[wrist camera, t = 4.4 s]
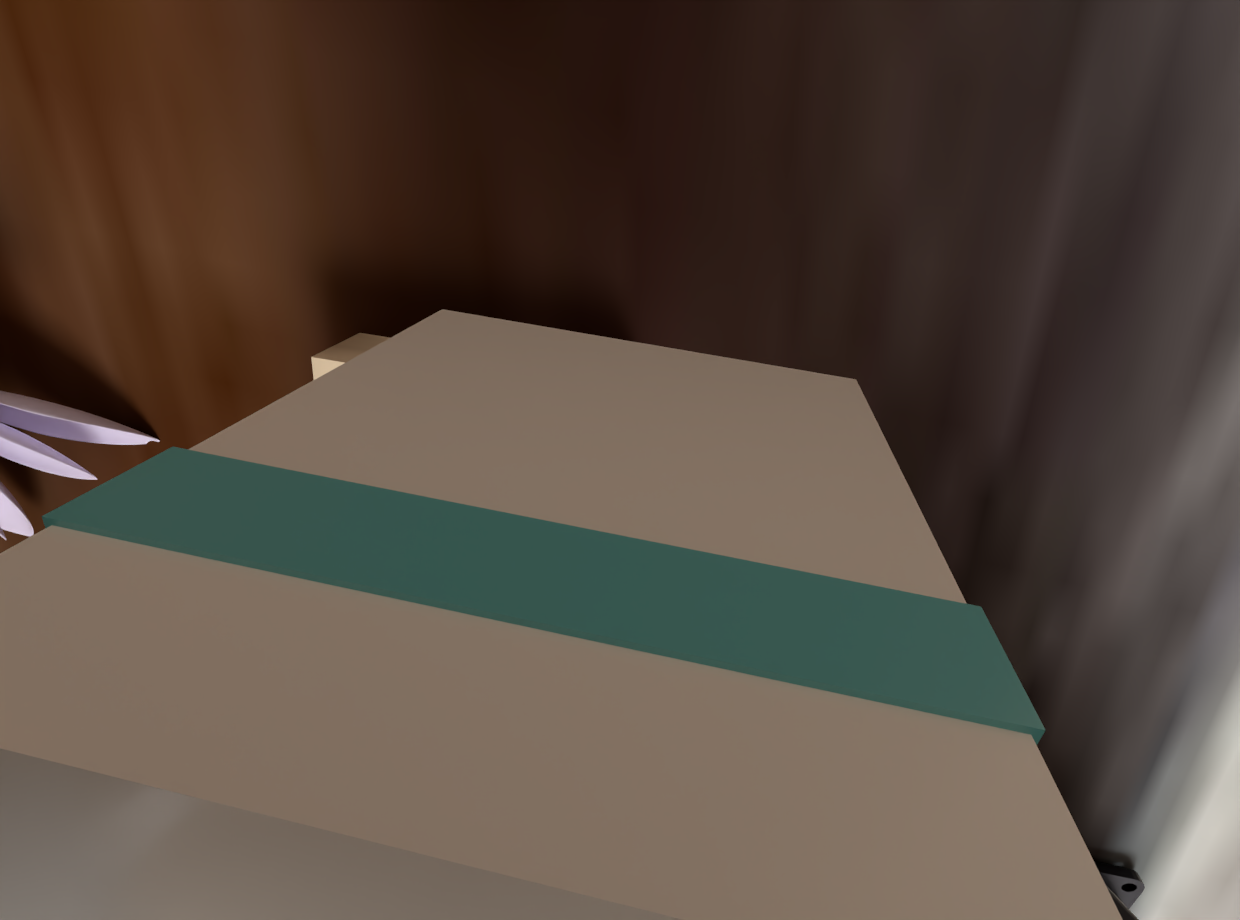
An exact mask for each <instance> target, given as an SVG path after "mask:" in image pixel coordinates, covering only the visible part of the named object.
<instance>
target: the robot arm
mask: <svg viewBox="0 0 1240 920" xmlns="http://www.w3.org/2000/svg"><path fill="white" fill-rule="evenodd" d="M1094 863H1095V865H1096V867H1097V869H1098V871H1099V873H1100V875H1101V877H1102V879H1103V881H1104V883H1105V885H1106V887H1107V889H1108V891H1109V893H1110V895H1111V897H1112V899H1113V901H1114V903H1115V905H1116V907H1117V909H1118V911H1119V913H1120V915H1121V917H1122V919H1123V920H1138V919H1137V917H1136V916H1135V915H1134V914H1133V913H1132V912H1131V911H1130V910H1129V908H1130V907H1131V906H1132V904H1133V903H1134V902H1135V901H1136V899H1137V898H1138V897H1139V895H1140V894H1141V893H1142V892H1143V890H1144V888H1145V887H1144V884H1143V882H1142V880H1141V878H1140V877H1139V875H1138V873H1137V872H1136V871H1134V870H1131V869H1128V868H1123V867H1118V866H1114V865H1109V864H1104V863H1099V862H1094Z"/></svg>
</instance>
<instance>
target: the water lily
mask: <svg viewBox="0 0 1240 920" xmlns="http://www.w3.org/2000/svg"><path fill="white" fill-rule="evenodd" d="M0 422H1V423H0V456H2V457H4V458H6V459H9V460H11V461H14V462H17V463H19V464H22V465H25V466H28V467H31V468H34V469H37V470H41V471H44V472H48V473H52V474H56V475H60V476H65V477H71V478H78V479H89V480H97V478H96V477H95V476H94V475H92V474H91V473H90V472H88V471H87V470H86V469H84V468H82V467H81V466H79V465H78V464H77V463H75V462H74V461H72V460H70V459H69V458H67V457H66V456H64V455H63V454H61V453H59V452H58V451H56V450H54V449H52V448H51V447H49V446H47V445H45V444H43V443H42V442H40V441H38V440H36V439H34V438H32V437H30V436H28V435H26V434H24V433H22V432H20V431H18V430H16V429H14V428H12V427H9V426H7V425H5V424H8V425H11V426H15V427H18V428H21V429H24V430H28V431H31V432H35V433H39V434H43V435H47V436H52V437H57V438H63V439H69V440H75V441H82V442H91V443H101V444H117V445H135V444H147V443H148V442H149V441H157V442H160V440H158V439H156V438H154V437H152V436H149V435H147V434H145V433H143V432H140V431H137V430H135V429H132V428H130V427H127V426H125V425H122V424H120V423H117V422H114V421H111V420H108V419H106V418H103V417H100V416H97V415H94V414H90V413H87V412H84V411H81V410H77V409H74V408H71V407H67V406H64V405H60V404H56V403H52V402H48V401H45V400H40V399H36V398H32V397H28V396H23V395H18V394H14V393H9V392H4V391H0ZM3 423H5V424H3ZM2 529H4V530H7V531H10V532H14V533H17V534H21V535H26V536H32V535H33V534H34V532H33V527H32V525H31V523H30V521H29V519H28V518H27V516H26V514H25V512H24V511H23V509H22V508H21V506H20V505H19V503H18V502H17V500H16V499H15V498H14V496H13V495H12V494H11V493H10V491H9V490H8V489H7V488H6V487H5V486H4V484H3V483H2V482H1V481H0V536H1V537H2V538H4V539H5V540H7V539H6V537H5V535H4V533H3V531H2Z"/></svg>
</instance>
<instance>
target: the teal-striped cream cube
mask: <svg viewBox="0 0 1240 920" xmlns="http://www.w3.org/2000/svg"><path fill="white" fill-rule="evenodd" d="M42 519H43V522H44V525H45V528H46V529H44V530H42V531H40V532H38V533H37V534H35V535H33V536H31V537H29V538H28V539H26V540H24V541H22V542H20V543H19V544H17V545H15V546H13V547H11V548H10V549H8V550H6V551H4V552H2V553H0V920H1123V919H1122V917H1121V915H1120V913H1119V911H1118V909H1117V907H1116V905H1115V903H1114V901H1113V899H1112V897H1111V895H1110V893H1109V891H1108V889H1107V887H1106V885H1105V883H1104V881H1103V879H1102V877H1101V875H1100V873H1099V871H1098V869H1097V867H1096V865H1095V863H1094V861H1093V859H1092V856H1091V854H1090V852H1089V850H1088V848H1087V846H1086V844H1085V842H1084V840H1083V838H1082V836H1081V834H1080V832H1079V830H1078V828H1077V826H1076V824H1075V822H1074V820H1073V818H1072V816H1071V814H1070V812H1069V810H1068V808H1067V806H1066V804H1065V802H1064V800H1063V798H1062V796H1061V794H1060V792H1059V790H1058V788H1057V786H1056V784H1055V782H1054V780H1053V777H1052V775H1051V773H1050V771H1049V769H1048V767H1047V765H1046V763H1045V761H1044V759H1043V757H1042V755H1041V753H1040V751H1039V749H1038V747H1037V744H1038V742H1039V740H1040V739H1041V737H1042V735H1043V734H1044V732H1045V728H1044V726H1043V724H1042V722H1041V720H1040V718H1039V717H1038V715H1037V713H1036V711H1035V709H1034V707H1033V705H1032V703H1031V701H1030V699H1029V697H1028V695H1027V694H1026V692H1025V690H1024V688H1023V686H1022V684H1021V682H1020V680H1019V678H1018V676H1017V674H1016V672H1015V671H1014V669H1013V667H1012V665H1011V663H1010V661H1009V659H1008V657H1007V655H1006V653H1005V651H1004V649H1003V648H1002V646H1001V644H1000V642H999V640H998V638H997V636H996V634H995V632H994V630H993V628H992V626H991V625H990V623H989V621H988V619H987V617H986V615H985V613H984V611H983V609H982V607H980V606H975V605H970V604H967V603H966V601H965V599H964V597H963V595H962V593H961V591H960V589H959V587H958V585H957V583H956V581H955V579H954V577H953V575H952V573H951V571H950V569H949V567H948V565H947V563H946V561H945V559H944V557H943V555H942V553H941V551H940V549H939V547H938V545H937V543H936V540H935V538H934V536H933V534H932V532H931V530H930V528H929V526H928V524H927V522H926V520H925V518H924V516H923V514H922V512H921V510H920V508H919V506H918V504H917V502H916V500H915V498H914V496H913V494H912V492H911V490H910V488H909V486H908V484H907V482H906V480H905V478H904V476H903V474H902V472H901V470H900V468H899V466H898V464H897V461H896V459H895V457H894V455H893V453H892V451H891V449H890V447H889V445H888V443H887V441H886V439H885V437H884V435H883V433H882V431H881V429H880V427H879V425H878V423H877V421H876V419H875V417H874V415H873V413H872V411H871V409H870V407H869V405H868V403H867V401H866V399H865V397H864V395H863V393H862V391H861V389H860V387H859V385H858V382H857V380H856V379H850V378H844V377H838V376H832V375H826V374H821V373H815V372H809V371H803V370H797V369H791V368H785V367H779V366H773V365H768V364H762V363H756V362H750V361H744V360H738V359H732V358H726V357H720V356H715V355H709V354H703V353H697V352H691V351H685V350H679V349H673V348H667V347H662V346H656V345H650V344H644V343H638V342H632V341H626V340H620V339H615V338H609V337H603V336H597V335H591V334H585V333H579V332H573V331H567V330H562V329H556V328H550V327H544V326H538V325H532V324H526V323H520V322H514V321H509V320H503V319H497V318H491V317H485V316H479V315H473V314H467V313H461V312H456V311H450V310H444V309H442V310H440V311H438V312H436V313H434V314H433V315H431V316H429V317H427V318H425V319H424V320H422V321H420V322H418V323H416V324H415V325H413V326H411V327H409V328H407V329H406V330H404V331H402V332H400V333H398V334H396V335H395V336H393V337H391V338H389V339H387V340H386V341H384V342H382V343H380V344H378V345H377V346H375V347H373V348H371V349H369V350H368V351H366V352H364V353H362V354H360V355H358V356H357V357H355V358H353V359H351V360H349V361H348V362H346V363H344V364H342V365H340V366H339V367H337V368H335V369H333V370H331V371H330V372H328V373H326V374H324V375H322V376H321V377H319V378H317V379H315V380H313V381H311V382H310V383H308V384H306V385H304V386H302V387H301V388H299V389H297V390H295V391H293V392H292V393H290V394H288V395H286V396H284V397H283V398H281V399H279V400H277V401H275V402H274V403H272V404H270V405H268V406H266V407H264V408H263V409H261V410H259V411H257V412H255V413H254V414H252V415H250V416H248V417H246V418H245V419H243V420H241V421H239V422H237V423H236V424H234V425H232V426H230V427H228V428H226V429H225V430H223V431H221V432H219V433H217V434H216V435H214V436H212V437H210V438H208V439H207V440H205V441H203V442H201V443H199V444H198V445H196V446H194V447H192V448H190V449H189V450H187V449H182V448H177V447H171V448H169V449H167V450H166V451H164V452H162V453H160V454H158V455H156V456H154V457H152V458H151V459H149V460H147V461H145V462H143V463H141V464H139V465H137V466H136V467H134V468H132V469H130V470H128V471H126V472H124V473H122V474H120V475H119V476H117V477H115V478H113V479H111V480H109V481H107V482H105V483H104V484H102V485H100V486H98V487H96V488H94V489H92V490H90V491H89V492H87V493H85V494H83V495H81V496H79V497H77V498H75V499H74V500H72V501H70V502H68V503H66V504H64V505H62V506H60V507H59V508H57V509H55V510H53V511H51V512H49V513H47V514H45V515H44V516H42Z"/></svg>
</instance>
